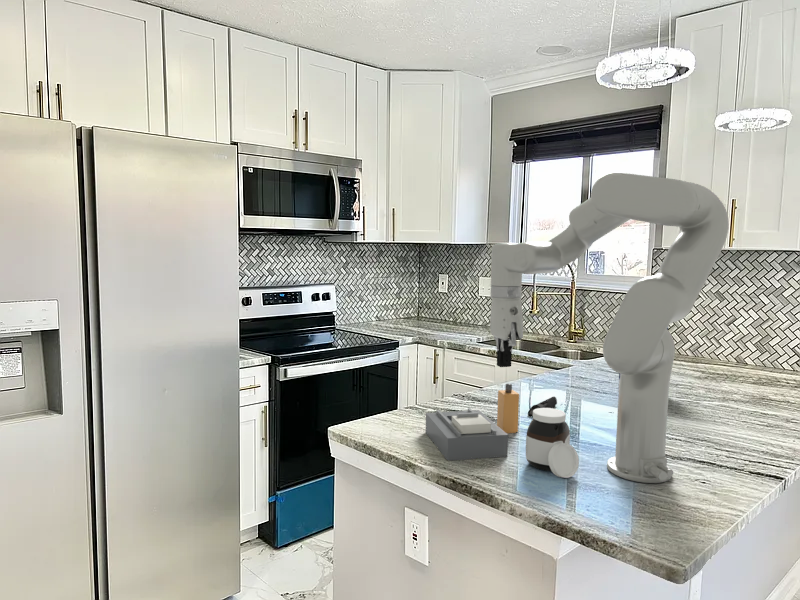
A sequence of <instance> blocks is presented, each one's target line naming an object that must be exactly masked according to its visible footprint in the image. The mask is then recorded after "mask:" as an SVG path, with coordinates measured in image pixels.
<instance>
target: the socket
mask: <svg viewBox="0 0 800 600" xmlns="http://www.w3.org/2000/svg"><path fill="white" fill-rule="evenodd" d="M473 412H478V415H481V416H483V417H484V418H485V419H486V420H487V421H488V422H490V423H491V432H489V433H472V434H461V432H460V431H459V430H458V429H457V428H456V427H455V426H454V425H453V424H452V416H457V413H473ZM425 434H426V435H427V436H428V438H429V437H430V438H429V439H430V440H431V442H432V443H433V442H434V443H433V444H434V445H435V447H436V446H437V447H438V448H437V447H436V448H437V449H438V451H439V452H440V453H441V454H442V456H443V455H444V456H443V457H444V458H445V460H446V459H447V460H449V461H459V460H462V459H463V460H476V458H478V459H489V458H490V459H491V458H492V459H493V458H503V457H504V458H505V457H508V450H509V449H508V448H509V433H505V432H504V431H503V430H502V429H501V428H500V427H498V426H497V423H495V422H494V421H493V420H491V419H490V418H489V417H488V416H487V415H485V413H483V412H482V411H480V410H477V409H475V410H472V408H467V410H461V411H460V410H457V411H441V410H440V409H436V412H426V413H425ZM447 460H446V461H447Z"/></svg>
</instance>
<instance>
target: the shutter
mask: <svg viewBox="0 0 800 600" xmlns="http://www.w3.org/2000/svg"><path fill="white" fill-rule="evenodd" d="M452 424H453V425H454V426H455V427H456V428H457V429H458V430H459V431H460V432H461V434H472V433H489V432H491V423H490V422H488V421H487V420H486V419H485V418H484V417H483V416H481V415H478V412H473V413H457V416H452Z"/></svg>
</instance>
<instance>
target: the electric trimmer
mask: <svg viewBox="0 0 800 600" xmlns="http://www.w3.org/2000/svg"><path fill="white" fill-rule="evenodd" d="M557 404H558V399H557V397H556V396H551V397H549V398H548V399H545V400H543V401H541V402H539V403H537V404H534V405H532V406H531V407H530V408H529V409H528V412H527V416H528V417H530V416H533V410H534V409H537V408H553V409H554V407H556V406H557Z"/></svg>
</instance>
